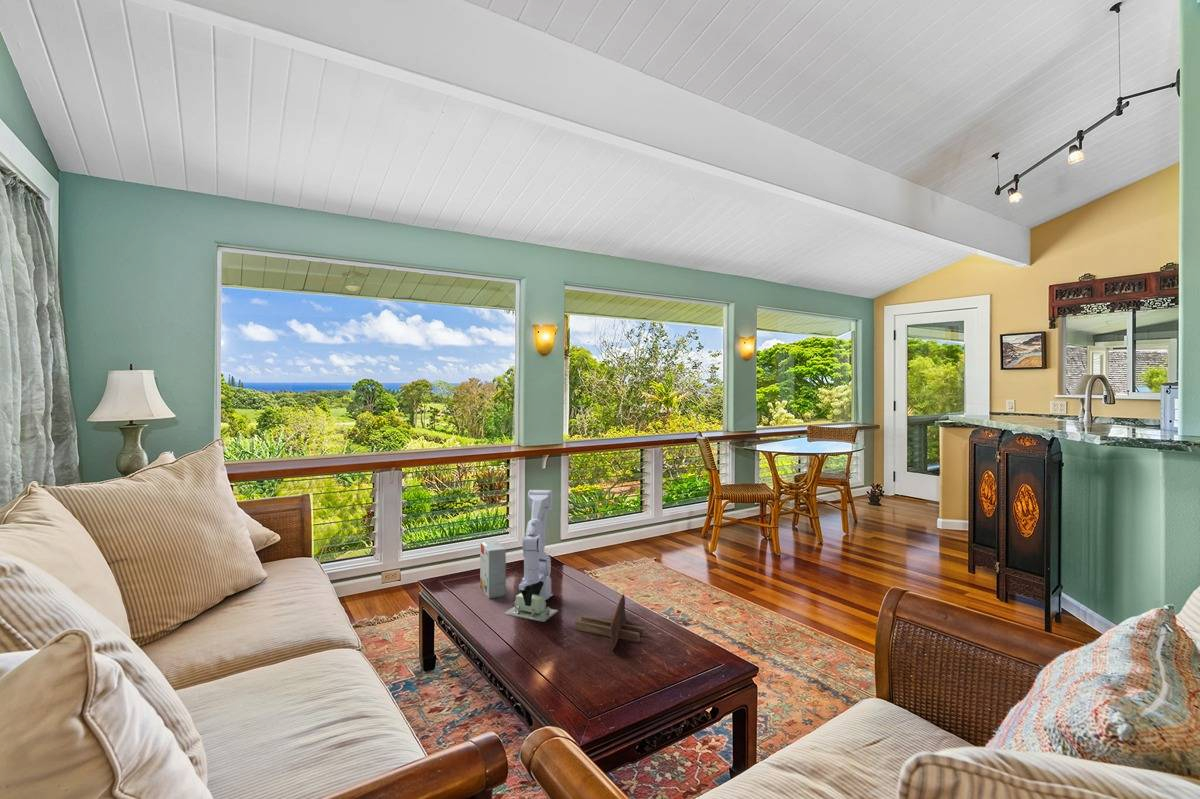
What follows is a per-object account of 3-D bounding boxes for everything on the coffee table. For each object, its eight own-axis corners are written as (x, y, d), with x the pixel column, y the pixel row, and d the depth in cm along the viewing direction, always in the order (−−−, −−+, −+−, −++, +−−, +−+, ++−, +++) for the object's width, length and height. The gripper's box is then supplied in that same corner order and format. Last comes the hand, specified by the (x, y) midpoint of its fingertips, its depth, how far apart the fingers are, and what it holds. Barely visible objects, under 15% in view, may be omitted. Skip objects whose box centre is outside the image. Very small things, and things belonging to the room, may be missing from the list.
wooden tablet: (615, 653, 176) (616, 622, 176) (608, 652, 177) (609, 621, 177) (627, 619, 202) (627, 592, 202) (621, 619, 203) (621, 592, 203)
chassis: (505, 614, 208) (505, 605, 208) (520, 605, 217) (520, 596, 217) (543, 622, 201) (543, 612, 201) (557, 612, 210) (557, 603, 210)
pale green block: (515, 608, 210) (515, 595, 210) (522, 605, 214) (522, 592, 214) (538, 613, 205) (538, 600, 205) (544, 609, 209) (544, 596, 209)
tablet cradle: (582, 623, 200) (582, 615, 200) (644, 636, 189) (644, 627, 189) (575, 630, 194) (575, 621, 194) (638, 643, 184) (638, 634, 184)
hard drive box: (479, 587, 239) (479, 541, 239) (497, 584, 242) (497, 539, 242) (488, 599, 225) (488, 550, 225) (506, 596, 228) (506, 548, 228)
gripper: (533, 561, 218) (533, 595, 218) (511, 571, 204) (511, 608, 205) (548, 563, 214) (548, 598, 214) (527, 574, 201) (527, 611, 201)
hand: (531, 603), depth 209 cm, fingers closed on pale green block, 4 cm apart
